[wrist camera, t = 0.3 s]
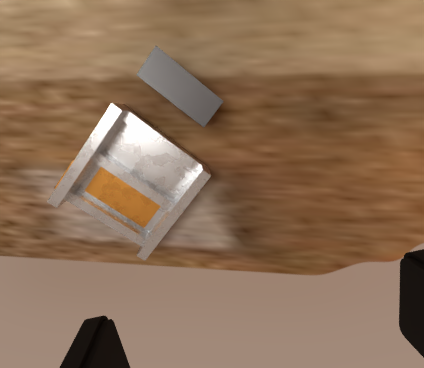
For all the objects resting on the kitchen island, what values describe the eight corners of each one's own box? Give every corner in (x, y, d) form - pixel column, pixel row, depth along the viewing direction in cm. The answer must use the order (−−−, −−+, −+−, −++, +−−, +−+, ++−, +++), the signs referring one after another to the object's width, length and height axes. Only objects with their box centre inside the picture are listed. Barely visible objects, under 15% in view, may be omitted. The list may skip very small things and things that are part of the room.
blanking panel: (147, 82, 38) (136, 75, 31) (163, 58, 38) (156, 45, 30) (201, 124, 41) (203, 127, 33) (217, 102, 40) (223, 100, 32)
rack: (65, 188, 42) (44, 200, 36) (121, 102, 39) (109, 101, 33) (150, 241, 45) (144, 260, 40) (208, 167, 43) (211, 176, 37)
